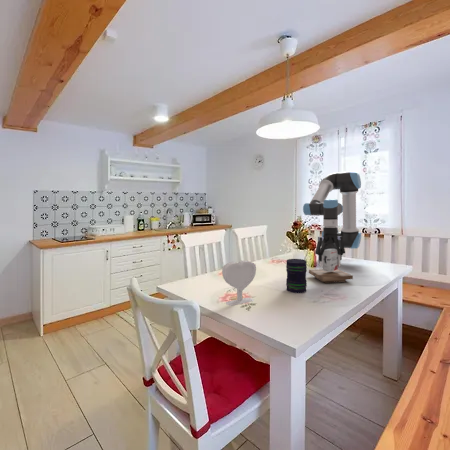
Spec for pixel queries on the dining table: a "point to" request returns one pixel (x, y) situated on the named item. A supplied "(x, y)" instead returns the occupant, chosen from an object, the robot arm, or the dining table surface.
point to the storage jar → (296, 275)
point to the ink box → (330, 260)
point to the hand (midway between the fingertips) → (329, 266)
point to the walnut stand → (330, 275)
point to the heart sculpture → (239, 278)
